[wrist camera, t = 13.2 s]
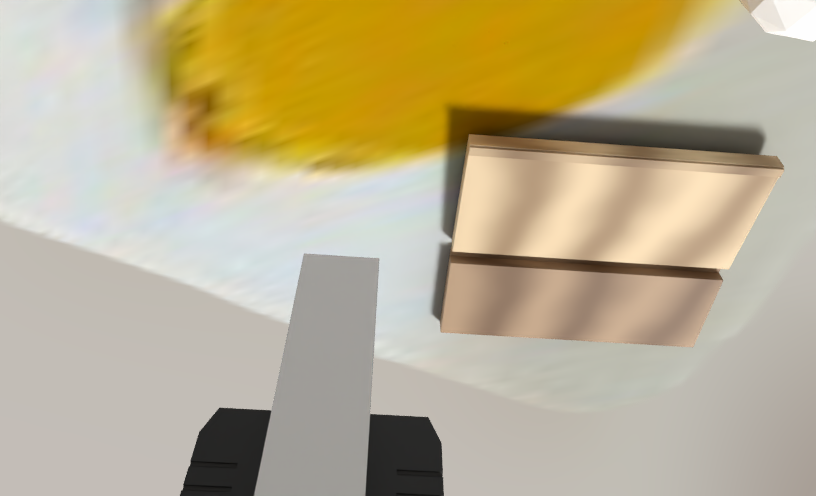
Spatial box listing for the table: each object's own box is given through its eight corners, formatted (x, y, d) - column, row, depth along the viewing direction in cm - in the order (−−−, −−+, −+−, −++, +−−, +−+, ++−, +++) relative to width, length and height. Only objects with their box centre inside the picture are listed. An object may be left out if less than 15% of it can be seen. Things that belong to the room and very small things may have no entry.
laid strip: (440, 321, 54) (440, 332, 53) (451, 245, 50) (451, 255, 49) (688, 336, 55) (693, 347, 54) (720, 262, 51) (726, 272, 50)
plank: (451, 240, 49) (452, 252, 48) (468, 134, 43) (470, 145, 42) (723, 257, 50) (729, 270, 49) (777, 156, 44) (785, 168, 43)
